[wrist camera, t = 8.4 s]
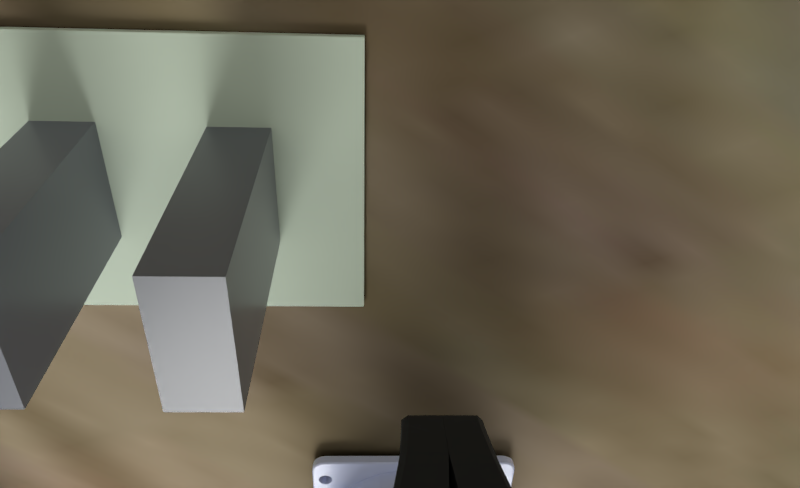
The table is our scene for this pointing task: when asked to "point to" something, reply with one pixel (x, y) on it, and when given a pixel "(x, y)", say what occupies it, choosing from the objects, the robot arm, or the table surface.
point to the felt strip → (185, 124)
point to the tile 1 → (211, 272)
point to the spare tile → (48, 244)
